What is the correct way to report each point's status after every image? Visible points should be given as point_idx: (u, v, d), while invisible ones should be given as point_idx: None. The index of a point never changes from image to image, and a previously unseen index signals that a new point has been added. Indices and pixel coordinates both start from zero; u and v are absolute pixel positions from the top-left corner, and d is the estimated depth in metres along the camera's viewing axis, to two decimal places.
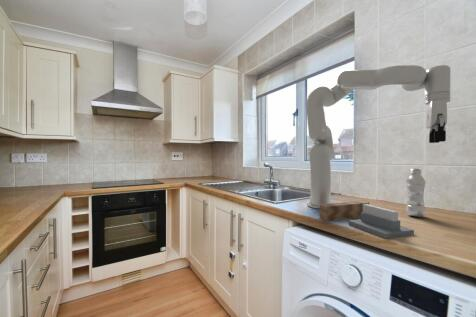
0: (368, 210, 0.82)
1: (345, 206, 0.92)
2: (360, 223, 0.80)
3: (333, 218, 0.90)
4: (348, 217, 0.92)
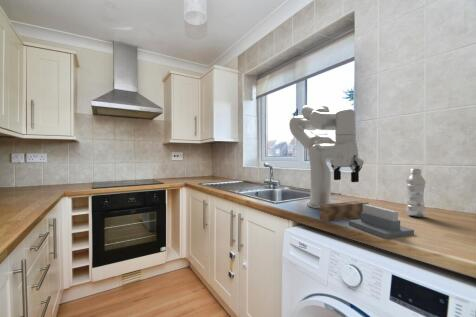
0: (368, 210, 0.82)
1: (345, 206, 0.92)
2: (360, 223, 0.80)
3: (334, 218, 0.90)
4: (348, 217, 0.92)
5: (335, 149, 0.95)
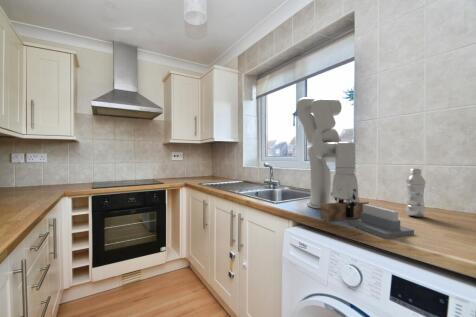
0: (368, 210, 0.82)
1: (346, 206, 0.91)
2: (360, 223, 0.80)
3: (334, 218, 0.89)
4: (348, 217, 0.92)
5: (335, 180, 0.95)
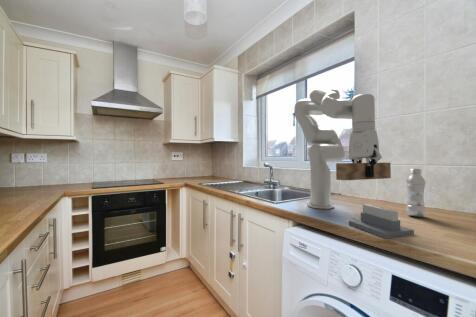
0: (368, 210, 0.82)
1: (364, 164, 0.82)
2: (360, 223, 0.80)
3: (352, 177, 0.80)
4: (368, 177, 0.82)
5: (352, 139, 0.86)
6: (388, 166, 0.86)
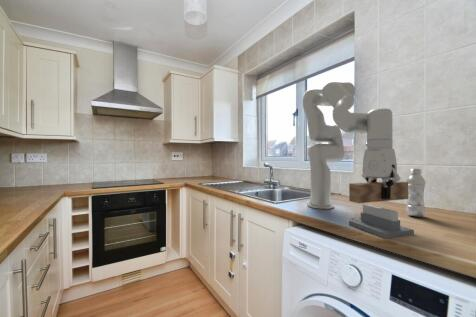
0: (368, 210, 0.82)
1: (380, 185, 0.76)
2: (360, 223, 0.80)
3: (366, 199, 0.74)
4: None
5: (366, 156, 0.80)
6: (406, 186, 0.79)
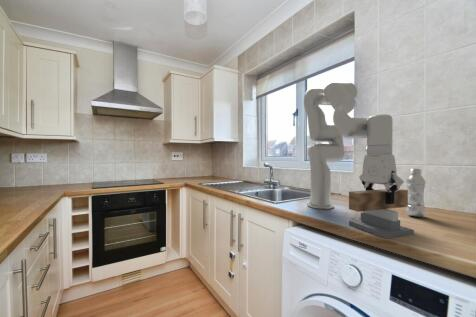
0: None
1: (380, 193, 0.76)
2: (360, 223, 0.80)
3: (366, 208, 0.74)
4: (383, 207, 0.77)
5: (366, 162, 0.80)
6: (405, 194, 0.79)
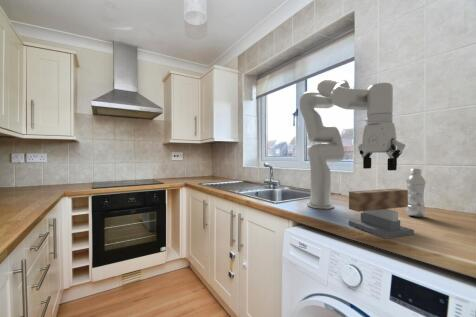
0: None
1: (380, 193, 0.76)
2: (360, 223, 0.80)
3: (366, 207, 0.74)
4: (383, 207, 0.77)
5: (366, 132, 0.80)
6: (405, 194, 0.79)
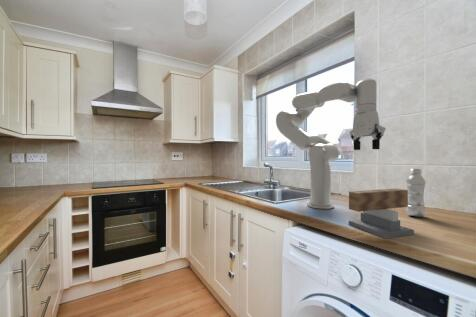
0: None
1: (380, 193, 0.76)
2: (360, 223, 0.80)
3: (366, 207, 0.74)
4: (383, 207, 0.77)
5: (356, 119, 0.98)
6: (405, 194, 0.79)
